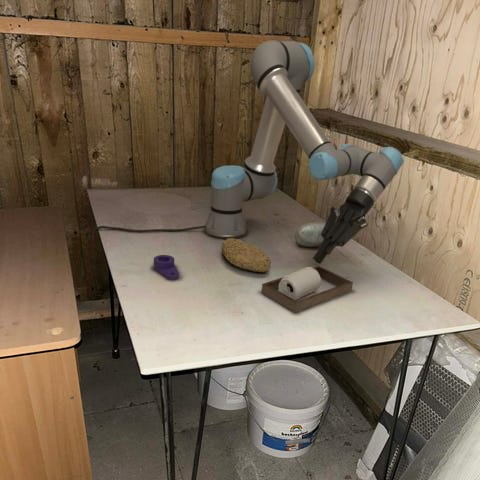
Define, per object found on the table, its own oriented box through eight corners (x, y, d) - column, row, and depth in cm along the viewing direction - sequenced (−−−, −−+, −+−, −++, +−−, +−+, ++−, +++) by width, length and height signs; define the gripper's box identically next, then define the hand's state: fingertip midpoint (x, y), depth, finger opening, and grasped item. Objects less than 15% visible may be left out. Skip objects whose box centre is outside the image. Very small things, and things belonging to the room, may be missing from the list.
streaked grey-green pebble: (327, 229, 179) (329, 211, 170) (336, 249, 174) (339, 231, 166) (292, 238, 178) (293, 220, 169) (300, 258, 173) (301, 240, 165)
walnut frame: (295, 313, 130) (296, 303, 129) (261, 292, 139) (262, 283, 138) (351, 291, 144) (353, 282, 142) (317, 274, 153) (318, 265, 151)
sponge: (216, 258, 161) (232, 271, 143) (220, 235, 159) (237, 245, 141) (252, 262, 166) (272, 276, 148) (257, 240, 164) (277, 251, 146)
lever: (151, 265, 150) (150, 256, 149) (169, 262, 153) (169, 253, 151) (165, 281, 141) (165, 272, 140) (184, 278, 144) (184, 268, 143)
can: (327, 283, 138) (301, 295, 130) (310, 294, 144) (285, 306, 136) (313, 261, 139) (287, 272, 131) (298, 273, 144) (272, 284, 137)
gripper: (385, 209, 137) (338, 275, 136) (350, 197, 145) (305, 259, 145) (378, 194, 131) (328, 262, 131) (342, 182, 140) (295, 246, 139)
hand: (316, 261), depth 138 cm, fingers closed
